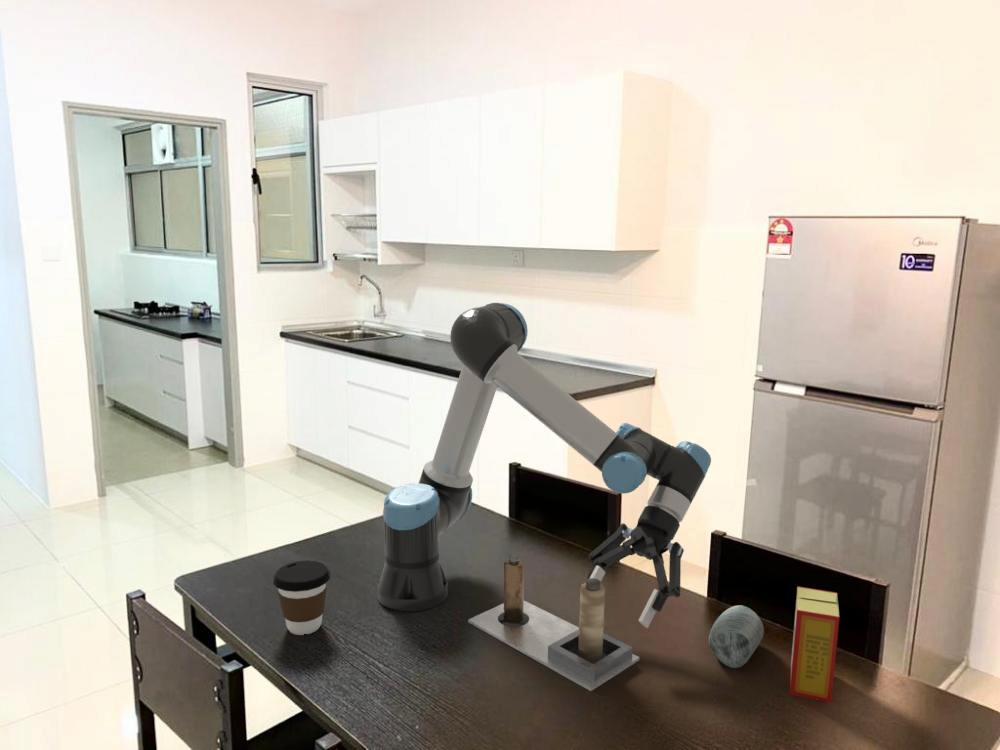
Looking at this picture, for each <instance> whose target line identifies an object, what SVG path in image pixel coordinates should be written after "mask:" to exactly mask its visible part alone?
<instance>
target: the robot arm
mask: <svg viewBox="0 0 1000 750" xmlns="http://www.w3.org/2000/svg"><path fill="white" fill-rule="evenodd" d="M451 326H452V327H451V330H450V337H449V338H450V345H451V348H452V351H453V352H454V354H455V355H456V357H457V359H458V360H459V361H460V364H461V365H462V367H461V370H460V374H459V377H458V380H457V383H456V385H455V389H454V393H453V396H452V398H451V402H450V405H449V408H448V412H447V415H446V418H445V421H444V425H443V426H442V430H441V433H440V437H439V440H438V443H437V446H436V450H435V452H434V456H433V459H432V460H430V461H428V462H426V463H424V466H423V469H422V470H421V471H422V472H421V474H420V478H419V481H418V483H417V482H415V483H407V484H405V485H400V486H397V487H395V488H393V489H392V490H391V491H389V493H387V494H386V496H385V498H384V501H383V510H382V517H383V533H384V534H383V538H384V540H383V541H384V565H383V569H382V572H381V576H380V580H379V582H378V584H377V600H378V602H379V603H380V605H382V606H384V607H386V608H388V609H390V610H394V611H400V612H419V611H424V610H429V609H432V608H434V607H437V606H438V605H441V604H442V603H443V602H444V601H445V600H447V598H448V595H449V594H448V593H449V591H448V590H449V588H448V580H447V578H446V575H445V572H444V570H443V566H442V564H441V562H440V536H441V535H442V534H444V532H446V531H447V530H448V529H449V528H450V527H451V526H452V525H454V524H455V523H457V522H458V521H460V520H461V519H462V518H463V517H464V515H465V514H467V512H468V510H469V508H470V507H471V504H472V501H473V488H472V484H473V482H474V479H473V476H472V474H471V472H470V469H471V467H472V464H473V461H474V457H475V454H476V452H477V449H478V446H479V444H480V443H479V442H480V439H481V437H482V434H483V431H484V428H485V425H486V422H487V419H488V416H489V412H490V410H491V408H492V403H493V400H494V397H495V394H496V393H497V392H496V391H497V389H498V388H499V389H500V390H502V391H503V393H505V394H506V395H507V396H508V397H510V398H511V399H512V400H513V401H515V402H516V403H517V404H518V405H520V407H521V408H523V409H524V410H526V411H527V412H528V413H529V414H531V415H532V416H533V417H534V418H535V419H537V420H538V421H539V422H540V423H542V424H543V425H544V426H545V427H547V428H548V429H549V430H550V431H552V433H554V434H555V435H556V436H557V437H558V438H560V439H561V440H562V441H563V442H565V443H566V444H567V445H568V446H569V447H571V448H572V449H573V450H575V451H576V452H577V453H578V454H580V456H581V457H583V458H584V459H585V460H587V461H588V463H590V464H591V465H592V466H594V467H595V468H596V469H597V470H598V471H599V472H601V476H602V479H603V483H604V484H605V486H606V487H607V488H608V489H609V490H611V491H612V492H614V493H618V494H629V493H632V492H634V491H635V490H637V488H639V487H640V485H642V484H643V483H644V482H645V479H646V477H647V475H648V476H650V477H651V478H653V479H655V480H658V482H657V483H656V486H655V487H654V490H653V491H652V493H651V495H650V497H649V498H648V500H647V503H646V504H647V505H646V506H645V507H644V508H643V510H642V512H641V514H640V516H639V518H638V520H637V523H636V526H635V527H634V528H633V529H632V528H630V527H628V525H626V524H625V523H624V522H623V523H621V524H620V525H619V527H618V528H617V530H616V531H615V532H614V533H612V535H610V536H609V537H608V538H606V539H605V540H604V541H603V542H602V543H600V544H599V545H598V546H597V547H595V548H594V549H593V550H592V551H591V552H590V553H589V554H588V555H587V556H588V559H589V560H590V561H591V562H592V564H593V565H592V567H591V569H590V570H589V572H588V574H587V576H586V580H587V579H590V578H595V579H598V580H599V581H600V583H601V582H602V580H603V578H604V576H605V574H606V571H605V569H606V568H608V567H610V566H611V565H614V564H615V563H618V562H619V561H621V560H623V559H624V558H626V557H629V556H634V555H635V554H636V555H637V556H638V557H643V558H646V560H649V561H651V560H652V563H653V567H654V568H653V569H654V572H655V576H656V579H657V586H658V587H657V589H656V588H654V589H653V591H652V593H651V595H650V597H649V598H648V600H647V603H646V605H645V606H644V609H643V611H642V612H641V614H640V616H639V618H638V622H639V623H640V624H641V625H642V626H643V627H644V628H646V629H649V627H650V625H651V622H652V621H653V618H654V616H655V615H656V612H658V613H660V612H661V611H662V609H663V607H664V605H665V603H666V600H667V599H668V598H669V597H675V598H679V597H680V596H681V573H682V572H681V570H682V569H681V567H682V565H681V561H682V557H683V554H684V551H685V549H684V548H683V547H682V545H681V544H680V543H679V542H678V541H675V542H672V540H674V538H675V536H676V534H677V533H678V530H679V528H680V523H682V522H683V520H684V518H685V516H686V514H687V512H688V510H689V508H690V506H691V504H692V502H693V500H694V499H695V496H696V495H697V493H698V491H699V489H700V488H701V485H702V483H703V482H704V479H705V478H706V475H707V473H708V471H709V469H710V466H711V463H712V458H711V455H710V453H709V452H708V451H707V450H706V449H705V448H704V447H702V446H701V445H699V444H698V443H695V442H694V443H693V442H691V441H687V440H684V441H680V442H679V443H678V444H677V445H676V446H674V445H671V444H669V443H668V442H665V441H663V440H662V439H660V438H658V437H656V436H654V435H652V434H650V433H648V432H646V431H644V430H642V429H641V428H640V427H637V426H636V425H633V424H630V423H629V422H623V423H621V424H620V425H619V428H618V429H617V430H616V432H615V431H614V429H612V428H611V427H609V426H608V425H607V424H606V423H604V422H603V420H601V419H600V418H599V417H597V416H596V415H594V413H592V412H591V411H590V410H589V409H587V408H586V407H585V406H584V405H582V404H581V403H580V402H579V401H578V400H576V399H575V398H574V397H572V396H571V395H570V394H569V393H568V392H566V391H565V390H564V389H563V388H561V387H560V386H559V384H557V383H555V382H554V381H552V379H550V378H549V377H548V376H546V375H545V374H544V373H543V372H542V371H540V370H539V369H538V367H536V366H534V365H533V364H532V363H530V362H529V361H528V360H527V359H526V358H524V356H522V355H521V354H520V353H519V351H520V350H521V349H522V348H523V347H524V345H525V343H526V341H527V339H528V338H527V337H528V333H529V332H528V331H529V329H528V324H527V321H526V319H525V317H524V316H523V314H522V312H521V311H520V310H519V309H517V308H516V307H515V306H513V305H511V304H509V303H505V302H489V303H487V304H485V305H482V306H478V307H473V308H469V309H467V310H465V311H463V312H462V313H460V314H459V315H458V317H457V318H456V319H455V320H454V322H453V324H452V325H451ZM626 539H627V540H626ZM666 552H668V553H669V564H668V565H669V567H668V569H669V570H668V571H669V572H668V573H669V575H668V577H669V580H668V577H667V571H666V569H665V561H664V558H663V557H664V556H663V555H664V554H665V553H666Z"/></svg>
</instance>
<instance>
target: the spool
mask: <svg viewBox="0 0 1000 750" xmlns="http://www.w3.org/2000/svg"><path fill="white" fill-rule="evenodd" d="M764 628H765V627H764V624H763V622H762V619H761V618H760V616H759V615H758V614H757V613H756V612H755V611H753V609H751V608H750V607H748V606H745V605H740V604H739V605H734V606H733V605H732V606H731V607H729V608H727V609H726V610H724V611H723V612H722V613H721V614H720V615H719V616H718V617H717V619H716V620H715V621H714V624H712V627H711V630H710V632H709V634H708V645H709V648H710V649H711V651H712V653H713V654H714V656H715V657H716V658H717V659H718V661H720V662H721V663H722V664H724V665H725V666H727V667H729V668H731V669H738V668H741V667H743V666H744V665H745V664H746V663H748V662H749V660H750V658H751V657H752V655H753V654H754V653H755V651H756V650H757V648H758V647H759V645H760V643H761V641H762V640H763V637H764V633H765V632H764V631H765V630H764Z"/></svg>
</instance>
